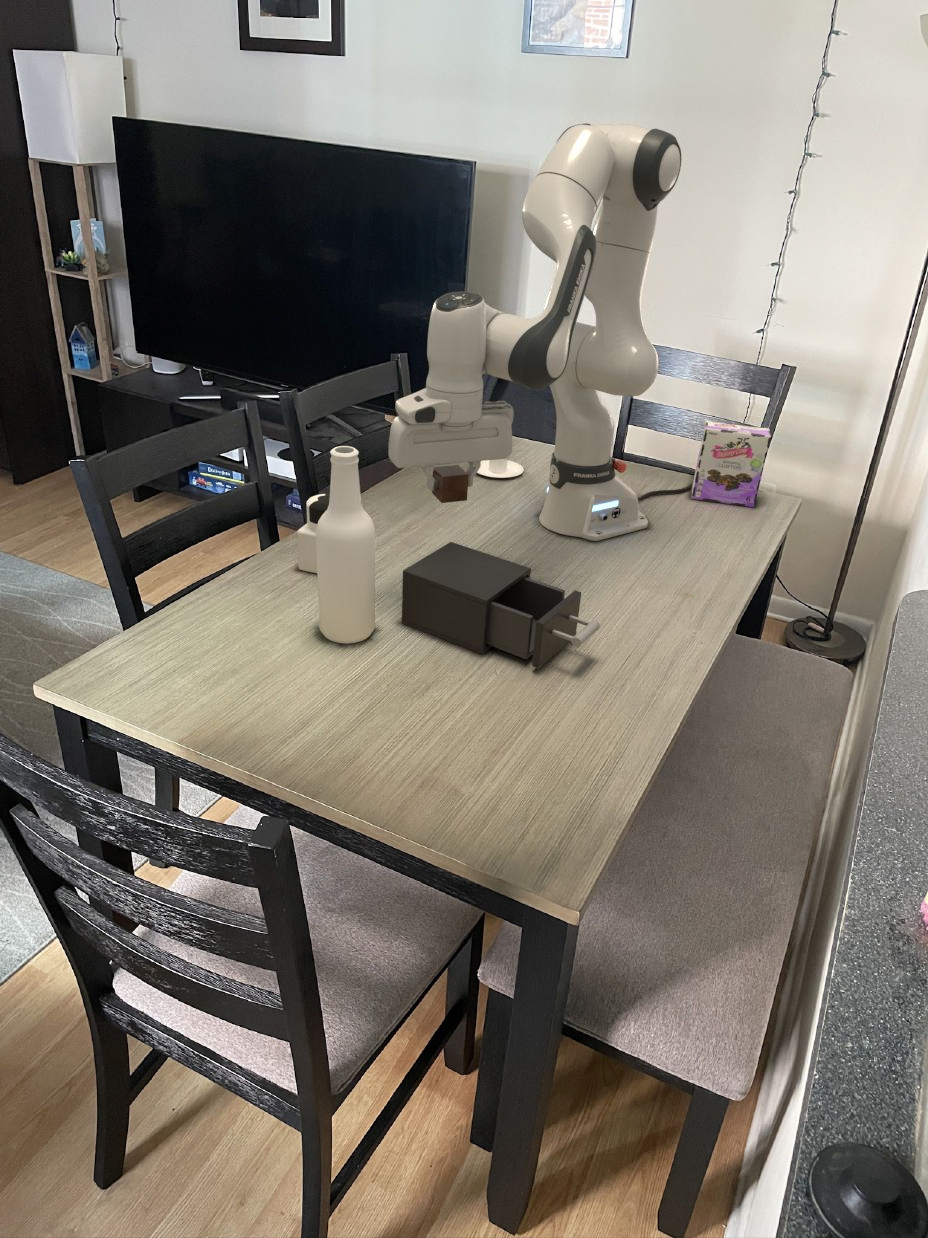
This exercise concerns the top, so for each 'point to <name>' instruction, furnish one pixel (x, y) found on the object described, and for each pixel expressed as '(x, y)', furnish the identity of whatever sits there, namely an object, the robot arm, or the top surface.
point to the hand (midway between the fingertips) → (449, 487)
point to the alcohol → (345, 556)
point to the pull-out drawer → (536, 621)
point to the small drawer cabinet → (456, 593)
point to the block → (451, 483)
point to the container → (311, 533)
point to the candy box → (730, 463)
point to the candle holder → (500, 468)
